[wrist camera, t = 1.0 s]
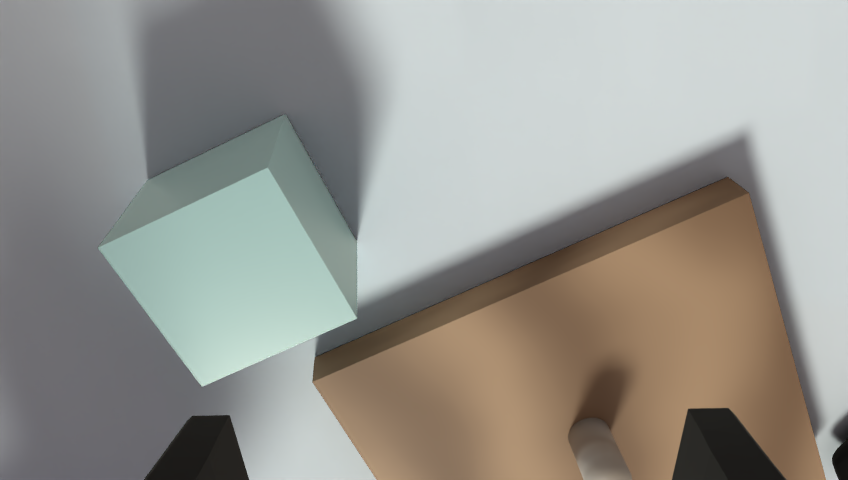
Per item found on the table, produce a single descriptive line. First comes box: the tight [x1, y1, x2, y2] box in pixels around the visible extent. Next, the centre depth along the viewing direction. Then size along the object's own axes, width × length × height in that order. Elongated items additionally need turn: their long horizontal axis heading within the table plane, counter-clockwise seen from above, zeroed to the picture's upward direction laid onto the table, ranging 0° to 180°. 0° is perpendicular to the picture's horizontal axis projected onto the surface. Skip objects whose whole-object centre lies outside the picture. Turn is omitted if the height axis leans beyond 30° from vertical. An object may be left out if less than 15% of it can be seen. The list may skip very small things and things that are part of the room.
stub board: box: [313, 177, 826, 480], centre depth 27 cm, size 16×14×4 cm
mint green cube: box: [98, 114, 357, 387], centre depth 22 cm, size 5×5×5 cm
